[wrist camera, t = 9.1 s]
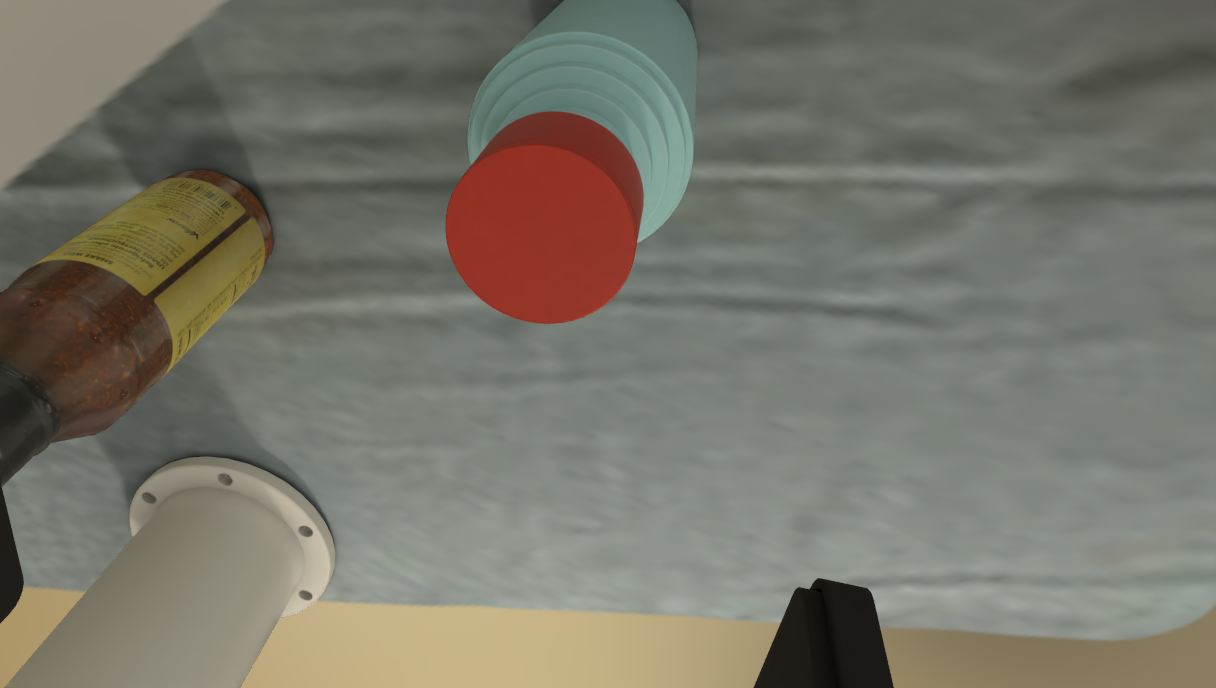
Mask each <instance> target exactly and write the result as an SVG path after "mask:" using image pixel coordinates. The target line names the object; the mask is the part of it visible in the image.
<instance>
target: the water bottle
mask: <svg viewBox="0 0 1216 688" xmlns="http://www.w3.org/2000/svg"><path fill="white" fill-rule="evenodd" d="M697 64H698V50H697V42H696V37H695V33H694V30H693V27H692V24H691V22H690V20H689V18H688V16H687V14H686V13H685V11H684V10H683V8H682V7H681V5H680V4H679V3H678V2H677V1H676V0H564V1H563V2H561V3H560V4H559V5H558V6H557V7H556V8H555V9H554V10H553V11H552V12H551V13H550V14H549V15H548V16H547V17H546V18H545V19H544V20H542V21H541V22H540V23H539V24H538V25H537V26H536V27H535V28H534V29H533V30H532V31H531V32H530V33H529V34H528V35H527V36H526V37H524V38H523V39H522V40H521V41H520V42H519V43H518V44H517V45H516V46H515V47H514V48H513V49H512V50H511V51H510V52H509V53H508V54H506V55H505V56H504V57H503V58H502V59H501V60H500V61H499V62H498V63H497V64H496V65H495V67H494V68H493V69H492V70H491V71H490V72H489V74H488V75H487V77H486V78H485V80H484V81H483V83H482V84H481V86H480V88H479V90H478V92H477V95H476V97H475V99H474V102H473V105H472V109H471V112H470V117H469V123H468V136H467V144H468V154H469V160H470V164H471V165H472V164H473V163H474V161H475V160H476V159H477V157H478V156H479V155H480V154H481V152H482V151H483V150H484V149H485V147H486V146H487V145H488V143H489V142H490V141H491V140H492V139H493V138H494V136H495V135H496V134H497V133H498V132H499V131H501V130H502V129H503V128H504V127H506V126H507V125H508V124H510V123H512V122H514V121H515V120H517V119H520V118H522V117H525V116H527V115H531V114H535V113H539V112H548V111H558V112H567V113H574V114H577V115H580V116H584V117H586V118H589V119H591V120H593V121H595V122H597V123H599V124H600V125H602V126H604V127H605V128H607V129H608V130H609V131H610V132H612V133H613V134H614V135H615V136H616V137H617V138H618V139H619V140H620V141H621V142H622V143H623V144H624V145H625V147H626V148H627V149H628V151H629V152H630V154H631V155H632V157H633V159H634V161H635V162H636V165H637V167H638V170H639V172H640V176H641V180H642V184H643V192H644V206H643V213H642V219H641V224H640V229H639V235H638V240H637V243H638V242H640V241H642V240H643V239H645V238H646V237H648V236H649V235H651V234H652V233H654V232H655V231H656V230H657V229H658V228H659V227H660V226H661V225H662V224H664V222H665V221H666V220H667V219H668V218H669V217H670V215H671V214H672V213H673V212H674V210H675V208H676V207H677V205H678V204H679V202H680V201H681V198H682V196H683V194H684V192H685V190H686V188H687V184H688V181H689V178H690V175H691V169H692V164H693V151H694V129H695V108H696V86H697Z"/></svg>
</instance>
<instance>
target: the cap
mask: <svg viewBox="0 0 1216 688" xmlns="http://www.w3.org/2000/svg"><path fill="white" fill-rule="evenodd" d="M643 206H644V192H643V184H642V180H641V176H640V172H639V170H638V167H637V165H636V162H635V161H634V159H633V157H632V155H631V154H630V152H629V151H628V149H627V148H626V147H625V145H624V144H623V143H622V142H621V141H620V140H619V139H618V138H617V137H616V136H615V135H614V134H613V133H612V132H610V131H609V130H608V129H607V128H605V127H604V126H602V125H600V124H599V123H597V122H595V121H593V120H591V119H589V118H586V117H584V116H580V115H577V114H574V113H567V112H558V111H548V112H539V113H535V114H531V115H527V116H525V117H522V118H520V119H517V120H515V121H514V122H512V123H510V124H508V125H507V126H506V127H504V128H503V129H502V130H501V131H499V132H498V133H497V134H496V135H495V136H494V138H493V139H492V140H491V141H490V142H489V143H488V145H487V146H486V147H485V149H484V150H483V151H482V152H481V154H480V155H479V156H478V157H477V159H476V160H475V161H474V163H473V164H472V165H471V166H470V168H469V169H468V170H467V172H466V173H465V174H464V175H463V177H462V178H461V180H460V181H459V182H458V184H457V185H456V187H455V189H454V191H453V193H452V195H451V198H450V202H449V205H448V209H447V214H446V239H447V244H448V248H449V252H450V255H451V258H452V260H453V263H454V265H455V267H456V269H457V271H458V273H459V274H460V276H461V277H462V279H463V280H464V281H465V283H466V284H467V285H468V287H469V288H470V289H471V290H472V291H473V292H474V293H475V294H476V295H477V296H478V297H479V298H481V299H482V300H483V301H484V302H485V303H487V304H488V305H490V306H491V307H493V308H494V309H496V310H498V311H500V312H502V313H503V314H506V315H508V316H511V317H513V318H516V319H520V320H523V321H527V322H533V323H544V324H553V323H563V322H569V321H573V320H576V319H579V318H582V317H585V316H587V315H589V314H591V313H593V312H595V311H597V310H598V309H600V308H601V307H603V306H604V305H605V304H606V303H608V302H609V301H610V300H611V299H612V298H613V297H614V296H615V295H616V294H617V293H618V291H619V290H620V289H621V287H622V286H623V284H624V283H625V281H626V279H627V277H628V275H629V273H630V271H631V268H632V264H633V261H634V257H635V251H636V246H637V240H638V235H639V229H640V224H641V219H642V213H643Z"/></svg>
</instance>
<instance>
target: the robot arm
mask: <svg viewBox="0 0 1216 688" xmlns="http://www.w3.org/2000/svg"><path fill="white" fill-rule="evenodd" d="M129 522H130V529H131V534H132V537H133V538H132V539H131V540H130V542H129V543H128V544H127V545H126V546H125V547H124V549H123V550H122V551H121V552H120V553H119V554H118V556H117V557H116V558H115V559H114V560H113V561H112V563H111V564H110V565H109V566H108V567H107V568H106V570H105V571H104V572H103V573H102V574H101V575H100V577H99V578H98V579H97V580H96V581H95V582H94V584H93V585H92V586H91V587H90V588H89V589H88V591H87V592H86V593H85V594H84V595H83V597H82V598H81V599H80V600H79V601H78V602H77V603H76V605H75V606H74V607H73V608H72V609H71V610H70V612H69V613H68V614H67V615H66V616H65V617H64V619H63V620H62V621H61V622H60V623H59V624H58V626H57V627H56V628H55V629H54V630H53V631H52V633H51V634H50V635H49V636H48V637H47V639H46V640H45V641H44V642H43V643H42V644H41V645H40V647H39V648H38V649H37V650H36V651H35V653H34V654H33V655H32V656H31V657H30V658H29V659H28V661H27V662H26V663H25V664H24V665H23V666H22V668H21V669H20V670H19V671H18V672H17V673H16V675H15V676H14V677H13V678H12V679H11V680H10V681H9V683H8V684H7V685H6V686H5V687H4V688H240V687H241V686H242V683H243V682H244V680H245V678H246V677H247V675H248V673H249V671H250V670H251V668H252V666H253V664H254V663H255V661H256V659H257V657H258V655H259V654H260V652H261V650H262V648H263V647H264V645H265V643H266V641H267V639H268V638H269V636H270V634H271V633H272V631H273V629H274V627H275V626H276V624H277V622H278V620H279V619H280V618H283V617H288V616H291V615H294V614H296V613H299V612H301V611H303V610H305V609H306V608H308V607H309V606H311V605H312V604H314V603H315V602H316V601H317V600H318V598H319V597H320V596H321V595H322V594H323V592H324V591H325V589H326V587H327V585H328V583H329V581H330V579H331V577H332V574H333V571H334V567H335V548H334V544H333V539H332V536H331V534H330V532H329V530H328V527H327V525H326V523H325V521H324V520H323V519H322V517H321V516H320V514H319V513H318V511H317V510H316V509H315V507H314V506H313V505H312V504H311V503H310V502H309V501H308V500H307V499H306V498H305V497H304V496H303V495H302V494H301V493H300V492H298V491H297V490H296V489H294V488H293V487H292V486H290V485H289V484H288V483H286V482H285V481H283V480H282V479H280V478H278V477H276V476H274V475H273V474H271V473H269V472H267V471H265V470H262V469H260V468H257V467H255V466H252V465H250V464H247V463H244V462H240V461H235V460H231V459H227V458H218V457H208V456H206V457H191V458H185V459H181V460H178V461H174V462H171V463H169V464H167V465H165V466H163V467H161V468H159V469H158V470H157V471H156V472H154V473H153V474H152V475H151V476H150V477H149V478H148V479H147V480H146V481H145V482H144V483H143V484H142V485H141V487H140V488H139V489H138V490H137V492H136V493H135V496H134V498H133V500H132V503H131V506H130V514H129ZM23 585H24V581H23V574H22V570H21V566H20V562H19V558H18V553H17V549H16V545H15V541H14V537H13V533H12V528H11V524H10V520H9V516H8V512H7V507H6V503H5V499H4V495H3V491H2V487H1V482H0V623H1V622H2V621H3V620H4V619H5V618H6V617H7V616H8V615H9V614H10V612H11V611H12V610H13V609H14V607H15V606H16V604H17V602H18V601H19V599H20V596H21V593H22V590H23ZM754 688H894V687H893V683H892V678H891V674H890V669H889V665H888V660H887V656H886V652H885V648H884V643H883V638H882V634H881V630H880V625H879V621H878V617H877V612H876V608H875V603H874V599H873V597H872V594H871V592H870V591H869V590H868V588H863V587H859V586H854V585H849V584H844V583H840V582H835V581H830V580H826V579H820V578H818V579H816V580H815V581H814V583H813V584H812V586H811V588H810V589H805V588H800V587H798V588H797V589H796V590H795V592H794V593H793V595H792V598H791V600H790V603H789V605H788V607H787V610H786V612H785V614H784V617H783V619H782V622H781V624H780V626H779V629H778V631H777V634H776V636H775V638H774V641H773V643H772V645H771V648H770V650H769V652H768V655H767V657H766V659H765V662H764V664H763V667H762V669H761V671H760V674H759V676H758V678H757V681H756V683H755V686H754Z"/></svg>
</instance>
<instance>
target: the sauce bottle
mask: <svg viewBox="0 0 1216 688" xmlns="http://www.w3.org/2000/svg"><path fill="white" fill-rule="evenodd" d="M273 244H274V240H273V235H272V228H271V226H270V223H269V220H268V218H267V215H266V213H265V211H264V210H263V207H262V205H261V203H260V202H259V200H258V199H257V198H256V197H255V196H254V195H253V194H252V192H251V191H249V190H248V189H247V188H246V187H245V186H243V185H241V184H240V183H239V182H237V181H234V180H232V179H231V178H230V177H228V176H226V175H224V174H222V173H218V172H216V171H212V170H201V169H198V170H189V171H184V172H180V173H177V174H175V175H172V176H169V177H167V178H166V179H165V180H163V181H160V182H157V183H155V184H153V185H151V186H150V187H148V188H147V189H145V190H144V191H143V192H141V193H140V194H138V195H137V196H135V197H134V198H132V199H131V200H129V201H128V202H126V203H125V204H123V205H122V206H120V207H119V208H117V209H116V210H114V211H113V212H112V213H110V214H109V215H107V216H106V217H104V218H103V219H101V220H100V221H98V222H97V223H95V224H94V225H92V226H91V227H89V228H88V229H87V230H85V231H84V232H82V233H81V234H79V235H78V236H76V237H75V238H73V239H72V240H70V241H69V242H67V243H66V244H64V245H63V246H61V247H60V248H58V249H57V250H55V251H54V252H52V253H51V254H49V255H48V256H46V257H45V258H43V259H42V260H40V261H39V262H37V263H36V264H34V265H33V266H31V267H30V268H29V269H27V270H26V271H25V272H24V273H23V274H21V275H20V276H19V277H18V278H17V279H16V280H15V281H14V282H13V283H12V284H11V285H10V286H9V288H8V289H6V290H4V291H3V292H1V293H0V482H1V487H2V486H3V485H4V484H5V483H6V482H7V481H8V480H9V479H10V478H11V477H12V476H13V475H14V474H15V473H16V472H18V471H19V470H20V469H21V468H22V467H23V466H24V465H25V464H26V463H27V462H28V461H29V460H30V459H31V458H32V457H33V456H36V455H38V454H39V453H41V452H42V451H44V450H45V449H46V448H47V447H48V445H49V444H50V443H53V442H58V441H63V440H69V439H74V438H79V437H84V436H89V435H95V434H97V433H99V432H101V431H102V430H105V429H107V428H108V427H110V426H111V425H112V424H113V423H114V422H115V421H116V420H117V419H118V418H119V417H121V416H122V415H123V414H124V413H125V412H126V411H128V410H129V409H130V408H131V407H132V406H133V405H135V404H136V403H137V401H138V399H139V398H140V397H141V396H142V394H143V393H145V392H146V391H147V390H148V388H149V387H151V386H153V385H154V384H156V383H157V382H158V381H160V380H161V379H162V378H163V377H164V376H165V375H166V374H167V373H168V371H169V370H170V369H171V368H172V367H173V366H174V365H175V364H176V363H177V362H178V361H179V360H180V359H181V358H182V357H183V356H184V355H185V353H186V352H187V351H188V350H189V349H190V348H191V347H192V346H193V345H194V344H195V343H196V342H197V341H198V340H199V339H200V338H201V337H202V336H203V335H204V333H205V332H206V331H207V330H208V329H209V328H210V327H211V326H212V325H213V324H214V323H215V322H216V321H217V320H218V319H219V318H220V317H221V316H222V315H223V314H224V313H225V312H226V311H227V310H228V309H229V308H230V307H231V306H232V305H233V304H234V303H235V302H236V301H237V300H238V298H239V297H240V296H241V295H242V294H243V293H244V292H245V291H246V290H247V289H248V288H249V287H250V286H251V285H252V284H253V283H254V282H255V281H256V280H257V279H258V277H259V275H260V273H261V271H262V268H263V266H264V265H265V263H266V261H267V259H268V257H269V255H270V254H271V252H272V249H273Z"/></svg>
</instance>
